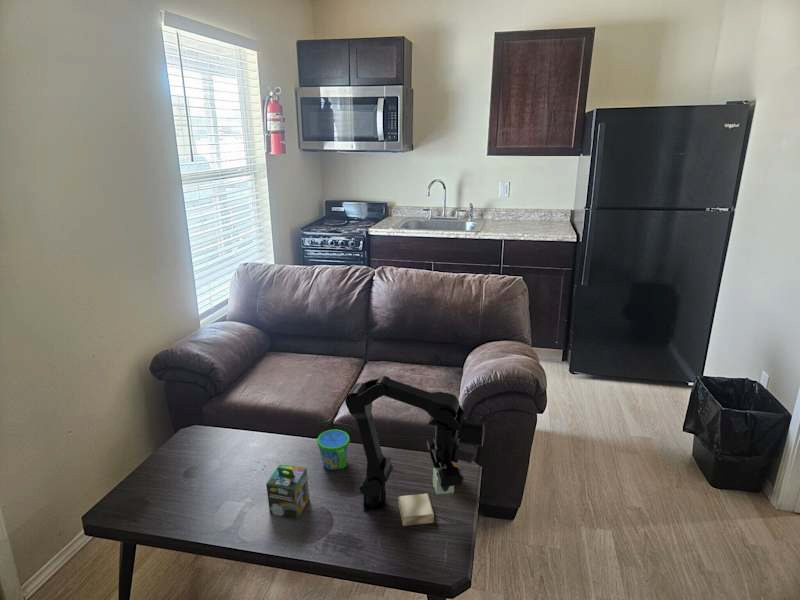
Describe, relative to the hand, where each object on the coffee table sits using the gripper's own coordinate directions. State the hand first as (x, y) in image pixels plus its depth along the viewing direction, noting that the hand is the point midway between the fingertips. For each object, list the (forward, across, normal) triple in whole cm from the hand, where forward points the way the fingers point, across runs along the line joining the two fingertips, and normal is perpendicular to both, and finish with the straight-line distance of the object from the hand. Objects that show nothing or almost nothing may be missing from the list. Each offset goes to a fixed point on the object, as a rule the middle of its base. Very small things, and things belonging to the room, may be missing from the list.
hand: (443, 484), depth 147 cm
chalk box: (+12, +11, +44) cm, 47 cm away
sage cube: (+1, 0, 0) cm, 1 cm away
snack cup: (+12, +29, +30) cm, 43 cm away
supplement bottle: (+12, +16, -6) cm, 21 cm away
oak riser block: (+12, +3, +7) cm, 14 cm away
